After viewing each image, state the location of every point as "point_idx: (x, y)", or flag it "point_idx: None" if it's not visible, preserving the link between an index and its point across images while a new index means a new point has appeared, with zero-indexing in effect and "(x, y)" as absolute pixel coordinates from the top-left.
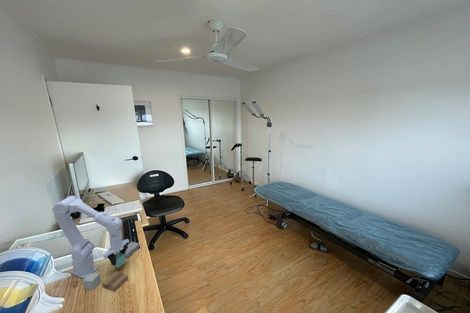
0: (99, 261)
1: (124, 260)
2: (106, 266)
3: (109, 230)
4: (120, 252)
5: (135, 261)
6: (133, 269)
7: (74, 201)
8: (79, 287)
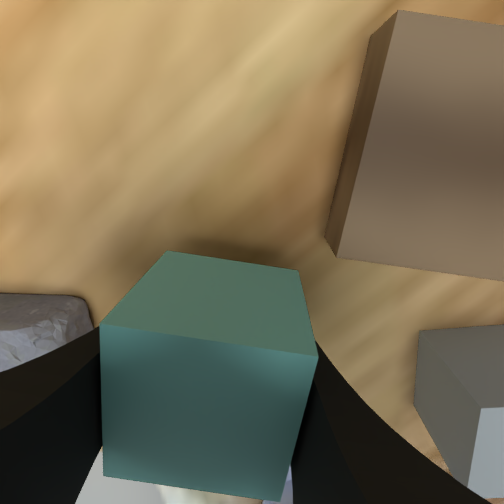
0: None
1: (174, 266)
2: None
3: None
4: (98, 438)
5: (81, 168)
6: (204, 89)
7: None
8: None
